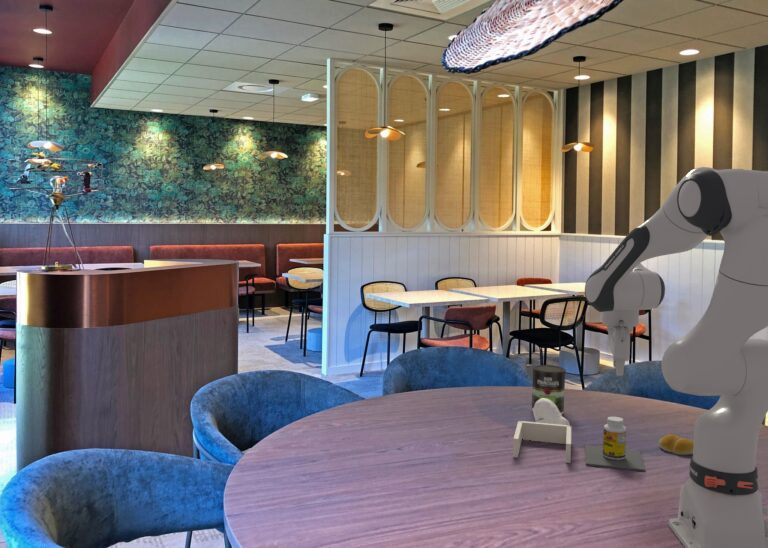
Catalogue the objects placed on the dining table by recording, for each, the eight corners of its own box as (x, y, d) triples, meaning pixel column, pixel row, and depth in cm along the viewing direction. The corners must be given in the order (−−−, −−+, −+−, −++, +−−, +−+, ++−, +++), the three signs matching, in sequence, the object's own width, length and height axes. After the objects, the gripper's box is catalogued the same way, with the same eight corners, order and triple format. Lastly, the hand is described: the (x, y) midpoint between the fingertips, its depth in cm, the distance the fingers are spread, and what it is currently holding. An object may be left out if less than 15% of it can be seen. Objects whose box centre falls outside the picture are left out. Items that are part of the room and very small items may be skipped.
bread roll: (687, 458, 175) (688, 443, 175) (655, 449, 182) (655, 435, 182) (701, 451, 181) (702, 437, 180) (669, 442, 187) (669, 428, 187)
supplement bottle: (598, 454, 175) (599, 416, 174) (616, 452, 177) (617, 414, 176) (611, 461, 170) (612, 422, 169) (629, 459, 172) (631, 420, 171)
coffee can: (563, 417, 210) (565, 373, 208) (530, 414, 213) (531, 370, 211) (564, 408, 219) (566, 366, 218) (532, 405, 222) (533, 363, 221)
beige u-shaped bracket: (570, 463, 170) (571, 444, 170) (513, 457, 174) (513, 438, 174) (570, 443, 185) (571, 425, 185) (517, 438, 189) (518, 420, 189)
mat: (645, 471, 165) (645, 469, 165) (586, 465, 169) (586, 463, 169) (639, 452, 179) (639, 450, 178) (585, 447, 182) (585, 445, 182)
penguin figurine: (546, 394, 203) (577, 408, 193) (543, 421, 204) (574, 436, 194) (531, 397, 199) (562, 411, 190) (528, 424, 201) (559, 439, 191)
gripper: (637, 324, 160) (634, 381, 161) (629, 313, 179) (628, 364, 180) (609, 323, 161) (607, 379, 162) (605, 312, 181) (603, 362, 182)
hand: (618, 371), depth 172 cm, fingers open, 8 cm apart
